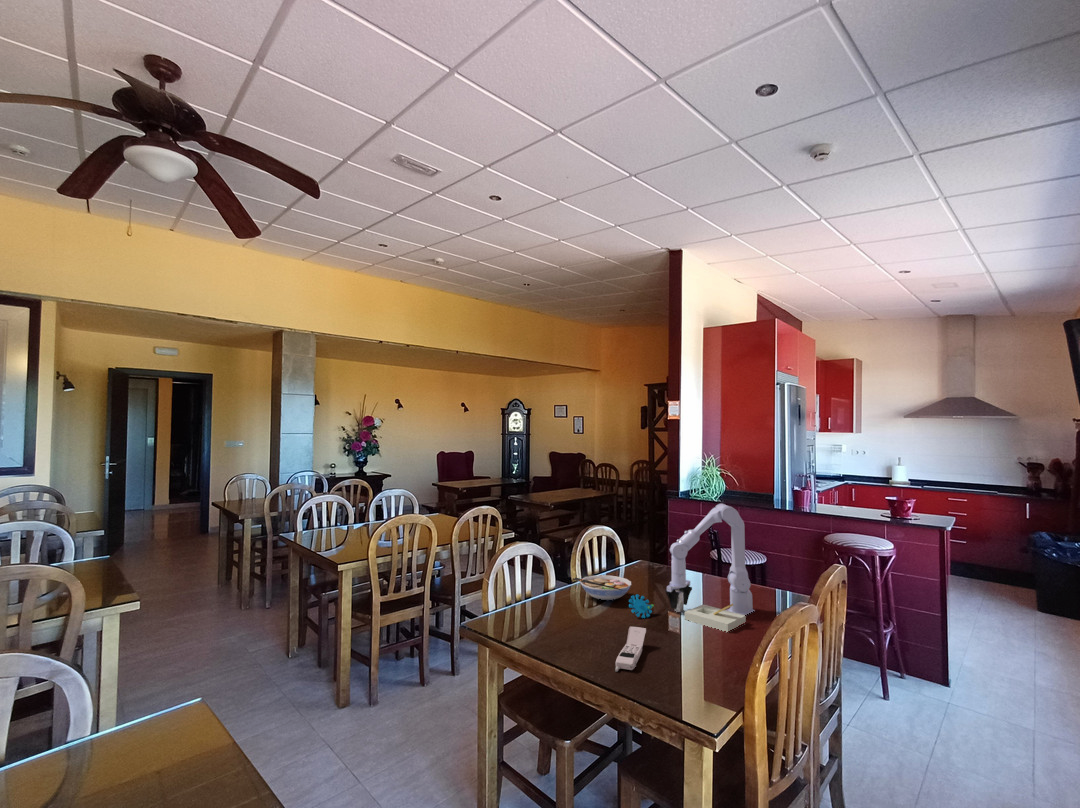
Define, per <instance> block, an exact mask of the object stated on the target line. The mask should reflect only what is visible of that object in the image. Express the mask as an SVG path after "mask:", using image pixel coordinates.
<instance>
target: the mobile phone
mask: <svg viewBox="0 0 1080 808" xmlns="http://www.w3.org/2000/svg"><path fill="white" fill-rule="evenodd" d="M646 633H647V628H646V627H645V628H644V627H640V626H639V627H638V626H629V628H628V632H627V638H626V643H625V645H624V646H623V647H622V649H621V650H620V652H619V653H618V656H617V657H616V660H615V669H614V671H615V672H619V670H620V669H623V670H629V671H633V670H634V669H635V667H637V663H638V661H639V659H640V657H641V655H642V652H643V646H644V642H645V636H646Z"/></svg>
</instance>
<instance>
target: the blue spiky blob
mask: <svg viewBox="0 0 1080 808" xmlns="http://www.w3.org/2000/svg"><path fill="white" fill-rule="evenodd" d="M640 596H641V597H640ZM639 598H640V599H639ZM628 602H629V604H628V608H630V609H631V610H630V612H631V613H632V614H635V616H636V617H637V618H639V617H640V615H641V614H642V615H641V619H643V618H644V619H646V618H649V617H650V616H651V614H652V613H653V611H652V609H653V607H654V604H653V603H651V604H649V603H650V601H649V599H646V600H645V596H644V595H639V594H638V593H637V594H635V595H634V594H633V595H631V596H630V598H629V599H628ZM634 612H635V613H634Z"/></svg>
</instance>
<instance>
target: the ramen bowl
mask: <svg viewBox="0 0 1080 808" xmlns="http://www.w3.org/2000/svg"><path fill="white" fill-rule="evenodd" d="M572 581H577V582H579V583H580V585H581V587H582V588H583V590H584V592H585V593H587V594H588V595H589V596H591V597H592V598H595V599H597V600H599V599H601V600H612V601H614V600H617V599H619V598H622V597H623V596H625V595H626V594H627V593H628V591H629V590H630V589H631V586H632V581H631V580H629V579H628V578H626V577H625V578H624V577H622V576H615V575H605V574H602V575H601V574H600V575H599V574H598V575H590V576H584V577H583V578H581V577H580V578H579V577H574V578H572ZM613 599H614V600H613ZM601 600H600V601H601Z"/></svg>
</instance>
